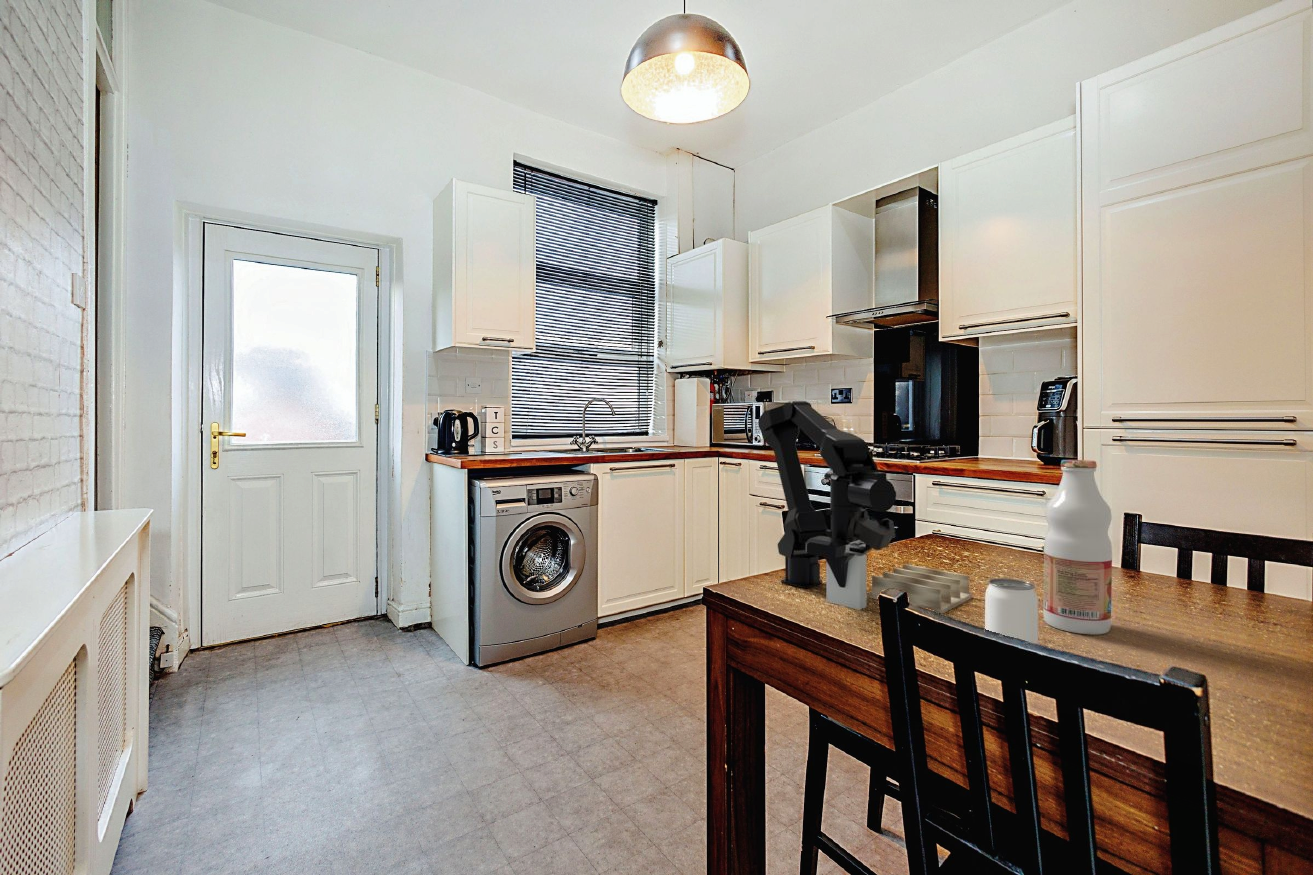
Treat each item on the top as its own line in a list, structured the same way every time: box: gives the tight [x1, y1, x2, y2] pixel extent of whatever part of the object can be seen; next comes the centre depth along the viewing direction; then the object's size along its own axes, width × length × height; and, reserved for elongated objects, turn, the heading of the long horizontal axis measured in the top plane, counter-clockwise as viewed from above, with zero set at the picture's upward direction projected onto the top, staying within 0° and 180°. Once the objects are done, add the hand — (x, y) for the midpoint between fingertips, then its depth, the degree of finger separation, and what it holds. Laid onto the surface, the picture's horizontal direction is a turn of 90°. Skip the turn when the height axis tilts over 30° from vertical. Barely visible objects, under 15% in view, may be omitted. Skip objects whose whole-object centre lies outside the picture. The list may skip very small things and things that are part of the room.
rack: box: [868, 563, 974, 615], centre depth 118 cm, size 14×14×4 cm
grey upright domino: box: [825, 551, 867, 611], centre depth 114 cm, size 7×2×10 cm, turn 42°
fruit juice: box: [1042, 459, 1113, 636], centre depth 101 cm, size 9×9×28 cm
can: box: [984, 577, 1039, 645], centre depth 85 cm, size 6×6×12 cm
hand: (846, 585), depth 114 cm, fingers closed on grey upright domino, 2 cm apart
